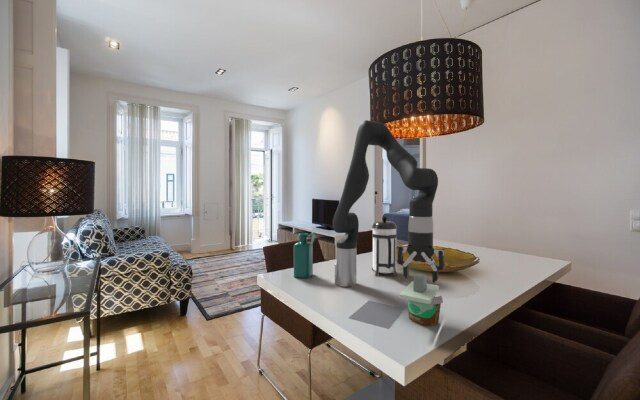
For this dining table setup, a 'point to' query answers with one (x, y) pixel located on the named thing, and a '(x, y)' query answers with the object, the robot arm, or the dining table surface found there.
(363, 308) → the mat
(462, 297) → the dining table surface
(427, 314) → the food container
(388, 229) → the coffee press
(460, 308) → the dining table surface
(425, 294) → the lid
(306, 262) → the green bottle
